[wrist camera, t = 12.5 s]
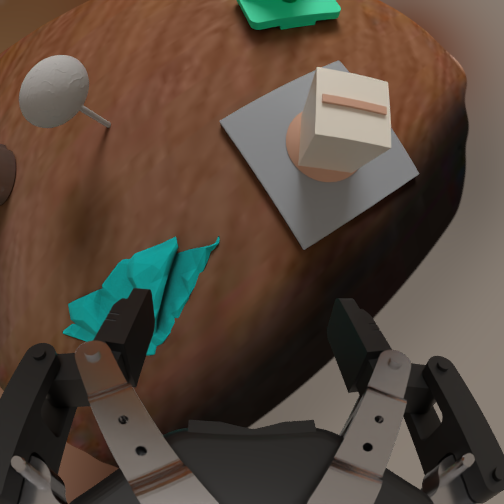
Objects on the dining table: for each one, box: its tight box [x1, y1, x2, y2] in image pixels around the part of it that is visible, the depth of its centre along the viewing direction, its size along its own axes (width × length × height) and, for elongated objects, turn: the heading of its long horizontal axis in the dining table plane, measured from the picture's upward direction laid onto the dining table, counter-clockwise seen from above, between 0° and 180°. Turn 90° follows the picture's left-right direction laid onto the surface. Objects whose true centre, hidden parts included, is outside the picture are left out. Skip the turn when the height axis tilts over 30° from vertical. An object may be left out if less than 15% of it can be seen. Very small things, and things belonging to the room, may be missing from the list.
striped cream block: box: [298, 67, 391, 173], centre depth 22 cm, size 6×6×10 cm
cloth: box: [63, 236, 220, 355], centre depth 30 cm, size 26×14×2 cm, turn 107°
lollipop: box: [19, 55, 111, 128], centre depth 22 cm, size 7×7×15 cm
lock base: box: [220, 60, 419, 250], centre depth 25 cm, size 16×16×6 cm
